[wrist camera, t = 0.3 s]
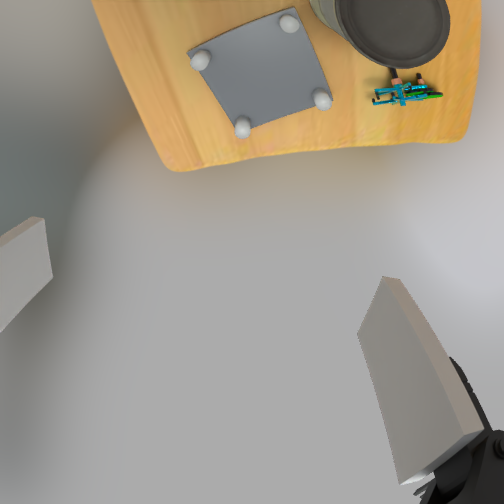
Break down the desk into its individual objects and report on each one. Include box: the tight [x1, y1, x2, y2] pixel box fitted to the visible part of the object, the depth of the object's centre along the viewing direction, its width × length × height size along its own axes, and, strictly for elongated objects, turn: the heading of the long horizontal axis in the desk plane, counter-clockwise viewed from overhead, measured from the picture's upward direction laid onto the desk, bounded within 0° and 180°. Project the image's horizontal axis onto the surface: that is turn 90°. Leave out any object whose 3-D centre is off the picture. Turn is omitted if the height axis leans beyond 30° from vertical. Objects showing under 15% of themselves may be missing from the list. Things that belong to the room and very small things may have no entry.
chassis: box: [187, 7, 334, 139], centre depth 31 cm, size 14×14×4 cm
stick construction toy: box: [372, 67, 443, 106], centre depth 29 cm, size 12×7×8 cm
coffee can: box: [309, 0, 450, 69], centre depth 18 cm, size 10×10×14 cm
